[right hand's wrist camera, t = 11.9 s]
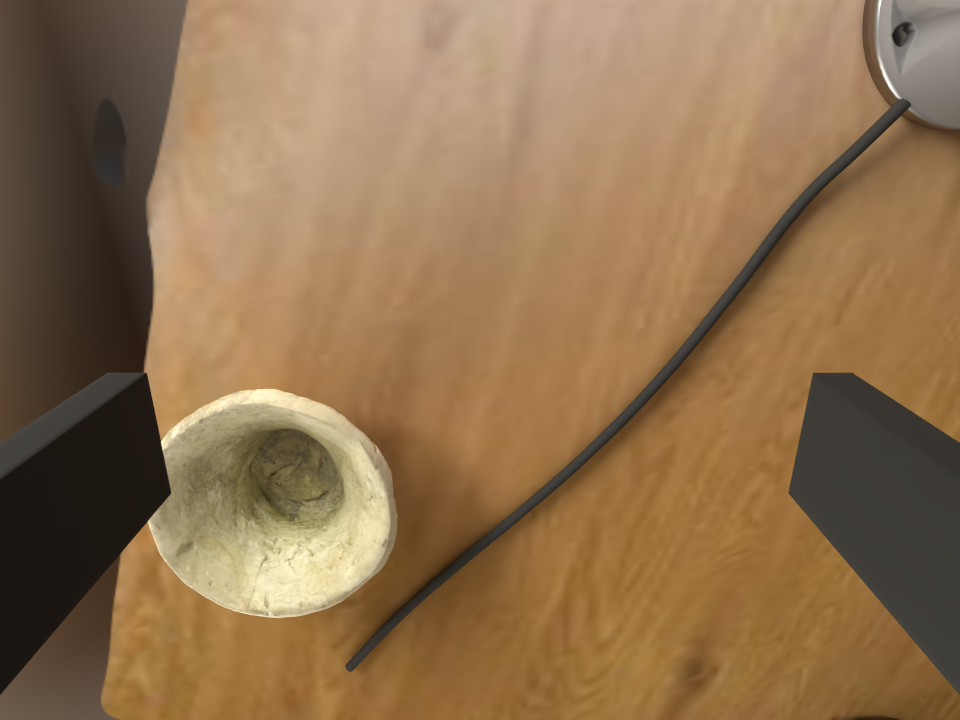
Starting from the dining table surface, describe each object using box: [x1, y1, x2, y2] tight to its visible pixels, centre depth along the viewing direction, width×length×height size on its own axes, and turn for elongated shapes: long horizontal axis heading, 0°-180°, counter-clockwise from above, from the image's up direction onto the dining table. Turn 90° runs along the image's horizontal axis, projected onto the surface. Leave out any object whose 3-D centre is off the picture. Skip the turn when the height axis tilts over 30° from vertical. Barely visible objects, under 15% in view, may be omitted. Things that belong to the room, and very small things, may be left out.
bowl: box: [148, 389, 398, 618], centre depth 44 cm, size 14×18×15 cm
